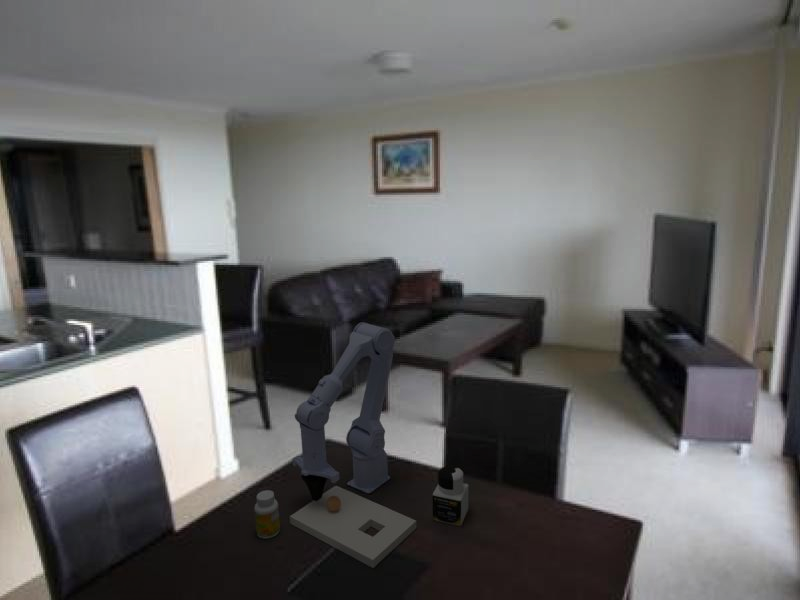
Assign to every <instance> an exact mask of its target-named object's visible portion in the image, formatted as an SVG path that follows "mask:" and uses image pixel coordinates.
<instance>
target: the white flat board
mask: <svg viewBox="0 0 800 600" xmlns="http://www.w3.org/2000/svg"><path fill="white" fill-rule="evenodd" d="M331 496H337V497H338V498H339V499H340V501H341V505H340V508H339V509H338V510H336V511H330V510H329V509H328V508H327V505H326V503H327V500H328V498H329V497H331ZM289 522H290V523H289V524H290V525H293V526H294V527H296V528H298V529H299V530H301V531H303V532H305V533H307V534H308V535H311V536H312V537H314V538H317V539H318V540H319V541H322V542H323V543H326V544H328V545H329V546H331V547H333V548H335V549H337V550H338V551H340V552H342V553H344V554H346V555H347V556H349V557H351V558H353V559H355V560H357V561H359V562H361V563H362V564H365V565H366V566H368V567H370V568H371V569H374V568H376V566H377V565H379V563H381V561H383V560H384V559H385V558H386V557H387V556H388V555H390V554H391V553H392V551H394V550H395V549H396V548H397V547H398V546H399V545H400V544H401V543H402V542H403V541H404V540H406V538H408V537H409V536H410V535H411V534H412V533H414V531H415V530H416V529H417V520H415V519H413V518H412V517H409V516H406V515H404V514H402V513H399V512H397V511H395V510H392V509H391V508H388V507H386V506H384V505H381V504H379V503H377V502H374V501H372V500H370V499H368V498H366V497H363V496H360V495H359V494H356V493H354V492H352V491H349V490H347V489H345V488H343V487H340V486H337V485H334V486H333V487H331V488H330V489H328V490H327V491H325V492H323V494H322V498H321V499H319V500H318V501H314V500H313V499H312V501H311V502H308V503H307V504H306V505H304V506H303V507H301V508H300V509H298V510H297V511H296V512H294V513H293V514H291V515H289ZM370 528H373V529H375V530H378V532H377V533H376V534H375V535H370V534H368V533H365V532H366V531H367V530H369V529H370Z"/></svg>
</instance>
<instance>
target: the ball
mask: <svg viewBox="0 0 800 600" xmlns="http://www.w3.org/2000/svg"><path fill="white" fill-rule="evenodd" d="M326 505H327V508H328V509H329V510H330V511H336V510H338V509H339V508H340V505H341V501H340V499H339V498H338V497H337V496H331V497H329V498H328V500H327V503H326Z"/></svg>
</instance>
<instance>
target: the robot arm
mask: <svg viewBox="0 0 800 600" xmlns="http://www.w3.org/2000/svg"><path fill="white" fill-rule="evenodd" d="M392 332H393V331H391V329H389V328H387V327H382V326H379V325H378V326H377V325H375V324H370V323H368V322H364V321H362V322H359V323H358V324H357V325H355V327H354V328H353V331H352V332H351V333H350V334H349V343H348V345H347V347H346V348H345V350H344V351H343V353H342V355H341V356H340V358H339V360H338V362H337V363H336V364H335V367H334V369H333V370H332V371H331V373H330V374H326V375H324V376H323V377H322V378H320V380H319V381H318V385H316V388H315V389H314V390H313V392H312V393H311V394H310V396H309V397H308V398H307V400H306V401H305V400H304V401H303V402H302V403H300V404H299V405H298V406H297V409H296V412H295V413H294V419H295V420H296V422H298V424H299V429H300V439H301V450H302V451H301V453H302V456H300V455H296V456H294V457H293V458H292V459H291V460H292V466H294V467H299V468H300V469H301V471H300V473H301V479H302V481H304V484H305V485H306V486H307V488H308V491H309V493H310V497H311V499H312V501H313V500H314V501H318V500H319V499H321V498H322V494H324V488H325V486H326V483H327V480H330V482H331V483H332V484H335V483H336V482H338V481H340V472H339V471H336V469H334V468H333V467H332V466H331V465H330V464H329V463H328V462H327V461H328V460H327V450H326V449H327V448H326V447H327V446H326V431H325V425H327V424H328V422H329V420H330V412H331V409H332V408H331V407H332V406H333V405H334V403H335V402H336V400H337V399H338V397H339V396H340V394H341V393H342V391H343V390H344V386H343V381H345V379H346V378H347V376H349V374H350V373H351V372H352V370H353V369H354V368H355V366H356V365H357V363H359V361H360V360H361V358H365V357H369V358H370V359H371V360H370V366H369V370H368V374H367V380H366V385H365V391H364V394H363V399H362V403H361V407H360V408H361V409H360V413H359V416H358V417H357V418H355V419H353V420H352V422H351V426H350V428H349V429H348V431H347V433H346V437H345V441H346V444H347V445H348V447H350V451H351V453H352V470H353V478H352V479H351V480H349V481H348V482H346V483H347V484H346V485H347V486H350V487H351V488H354V489H355V490H356V489H357V490H359V491H360V492H363V493H365V494H367V495H370V494H371V493H373V492H374V491H375V490H377V489H378V488H379V487H381V486H382V485H383V484H384V483H386V482H387V481H389V480H390V479H391V476H390V475H389V470H388V469H389V467H388V454H387V452H386V450H385V446H386V441H385V433H386V430H385V428H384V426H383V424H382V423H381V420H380V419H381V415H382V410H383V405H384V401H385V396H386V392H387V386H388V382H389V377H390V373H391V368H392V363H393V359H394V351H393V348H394V345H395V339H396V337H395V335H394V334H393V333H392Z"/></svg>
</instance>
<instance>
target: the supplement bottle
mask: <svg viewBox="0 0 800 600" xmlns="http://www.w3.org/2000/svg"><path fill="white" fill-rule="evenodd" d="M254 516H255V517H254V518H255V529H256V535H257V537H258V538H260V539H271V538H274V537H275V536H277V535H278V534H279V533H280V530H281V525H280V513H279V502H278V501H277V499H275V493H274V491H273V490H270V489H269V490H262V491H260V492H258V493H257V495H256V503H255V505H254Z"/></svg>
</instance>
